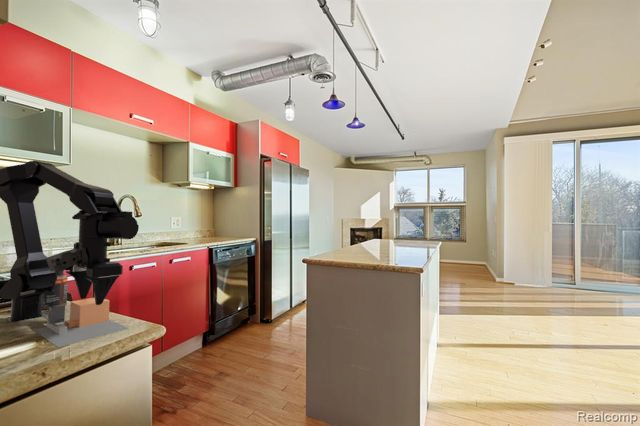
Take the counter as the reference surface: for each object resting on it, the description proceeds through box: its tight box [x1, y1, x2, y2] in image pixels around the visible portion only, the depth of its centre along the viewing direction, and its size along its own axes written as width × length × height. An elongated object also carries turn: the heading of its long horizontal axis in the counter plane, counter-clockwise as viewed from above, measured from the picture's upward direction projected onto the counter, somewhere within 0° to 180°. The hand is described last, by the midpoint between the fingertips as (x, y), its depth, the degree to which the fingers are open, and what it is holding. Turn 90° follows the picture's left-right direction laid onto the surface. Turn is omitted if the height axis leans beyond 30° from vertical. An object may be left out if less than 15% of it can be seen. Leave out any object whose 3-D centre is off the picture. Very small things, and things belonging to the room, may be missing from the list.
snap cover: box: [65, 297, 111, 328], centre depth 73 cm, size 6×8×5 cm
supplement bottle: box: [42, 270, 68, 311], centre depth 88 cm, size 6×6×11 cm
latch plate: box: [32, 319, 130, 348], centre depth 69 cm, size 16×13×2 cm
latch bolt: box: [41, 304, 66, 325], centre depth 69 cm, size 10×2×4 cm, turn 57°
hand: (90, 301), depth 74 cm, fingers open, 9 cm apart
